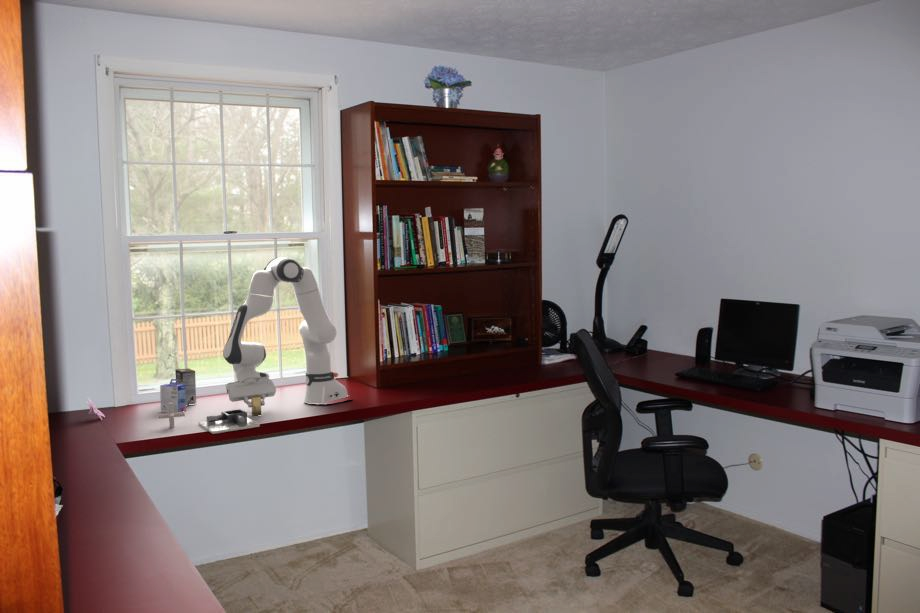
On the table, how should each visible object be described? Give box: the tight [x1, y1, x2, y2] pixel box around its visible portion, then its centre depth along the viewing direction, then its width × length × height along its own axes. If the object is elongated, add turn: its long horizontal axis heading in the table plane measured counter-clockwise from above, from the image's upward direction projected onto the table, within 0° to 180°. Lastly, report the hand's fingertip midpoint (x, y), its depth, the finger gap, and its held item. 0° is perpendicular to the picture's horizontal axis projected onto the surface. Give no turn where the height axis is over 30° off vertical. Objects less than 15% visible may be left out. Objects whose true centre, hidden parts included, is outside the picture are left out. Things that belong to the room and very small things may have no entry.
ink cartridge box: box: [159, 378, 187, 413], centre depth 328 cm, size 10×6×14 cm, turn 71°
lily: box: [83, 396, 106, 422], centre depth 314 cm, size 12×12×10 cm
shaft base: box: [197, 408, 261, 435], centre depth 302 cm, size 19×19×4 cm
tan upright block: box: [250, 396, 262, 417], centre depth 319 cm, size 4×4×8 cm
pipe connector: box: [157, 403, 186, 429], centre depth 300 cm, size 10×10×10 cm
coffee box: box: [174, 368, 197, 405], centre depth 344 cm, size 9×6×16 cm
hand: (256, 405), depth 319 cm, fingers closed on tan upright block, 4 cm apart
